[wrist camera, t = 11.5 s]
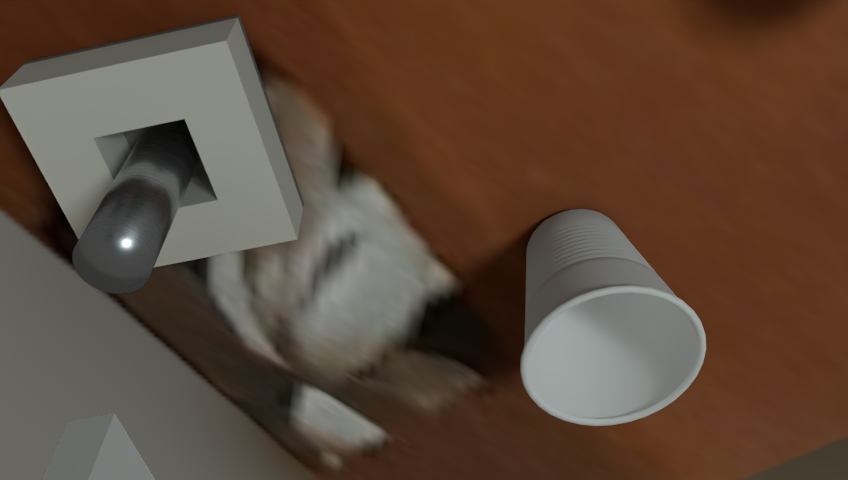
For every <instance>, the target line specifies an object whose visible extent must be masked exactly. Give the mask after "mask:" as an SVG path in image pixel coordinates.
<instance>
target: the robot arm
mask: <svg viewBox="0 0 848 480" xmlns="http://www.w3.org/2000/svg"><path fill="white" fill-rule="evenodd" d="M42 480H155V479H154V477H153V476H152V474H151V472H150V471H149V469H148V467H147V466H146V464H145V462H144V461H143V459H142V458H141V456H140V454H139V453H138V451H137V449H136V448H135V446H134V444H133V443H132V441H131V439H130V438H129V437H128V435H127V433H126V431H125V430H124V428H123V426H122V425H121V423H120V421H119V420H118V418H117V417H116V415H115V413H112V414H107V415H101V416H95V417H91V418H84V419H79V420H73V421H69V422H68V424H67V426H66V428H65V430H64V433H63V435H62V437H61V439H60V441H59V444H58V446H57V448H56V450H55V452H54V455H53V457H52V459H51V461H50V463H49V466H48V468H47V470H46V472H45V474H44V477H43V479H42Z"/></svg>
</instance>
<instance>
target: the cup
mask: <svg viewBox="0 0 848 480" xmlns="http://www.w3.org/2000/svg"><path fill="white" fill-rule="evenodd" d="M525 304H526V307H525V345H524V348H523V352H522V355H521V362H520V373H521V377H522V382H523V385H524V387H525V389H526V391H527V392H528V394H529V396H530V397H531V398H532V399H533V401H534V402H535V403H536V404H537V405H538V406H539V407H540V408H542V409H543V410H545V411H546V412H548V413H549V414H550V415H553V416H555V417H557V418H560V419H562V420H564V421H568V422H572V423H576V424H581V425H592V426H602V425H615V424H620V423H626V422H630V421H633V420H637V419H640V418H643V417H646V416H648V415H650V414H652V413H654V412H656V411H658V410H660V409H662V408H664V407H665V406H667V405H668V404H670V403H671V402H673V401H674V400H675V399H677V398H678V397H679V396H680V395H681V394H682V393H683V392H684V391H685V390H686V389H687V388H688V387H689V386H690V384H691V383H692V382H693V380H694V379H695V378H696V376H697V374H698V372H699V370H700V368H701V366H702V364H703V361H704V356H705V352H706V335H705V332H704V329H703V326H702V323H701V321H700V319H699V318H698V316H697V315H696V313H695V312H694V310H693V309H692V308H690V307H689V306H688V305H687V304H686V303H685V302H684V301H682V300H681V299H679V298H677V297H676V295H675V294H674V293H673V292H672V291H671V290H670V288H669V287H668V286H667V285H666V284H665V282H664V281H663V280H662V279H661V278H660V277H659V276H658V275H657V273H656V272H655V271H654V270H653V268H652V267H651V266H650V265H649V264H648V263H647V262H646V260H645V259H644V258H643V257H642V255H640V253H639V252H638V251H637V250H636V248H635V247H634V246H633V245H632V244H631V243H630V241H629V240H628V239H627V238H626V236H625V235H624V234H623V233H622V231H621V230H620V229H619V228H618V227H617V225H616V224H615V223H614V222H613V221H612V220H611V219H609V218H608V217H607V216H605V215H603V214H601V213H599V212H596V211H593V210H586V209H573V210H568V211H563V212H561V213H558V214H556V215H553V216H552V217H550V218H548V219H547V220H545V221H544V222H543V223H542V224H541V225H539V226H538V228H537V229H536V230H535V231H534V232H533V234H532V236H531V238H530V240H529V242H528V246H527V253H526V303H525Z"/></svg>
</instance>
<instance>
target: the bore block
mask: <svg viewBox="0 0 848 480" xmlns="http://www.w3.org/2000/svg"><path fill="white" fill-rule="evenodd" d="M0 97H1V99H2V101H3V103H4V105H5V106H6V108H7V110H8V112H9V114H10V116H11V117H12V119H13V121H14V123H15V125H16V126H17V128H18V130H19V132H20V134H21V136H22V137H23V139H24V141H25V143H26V145H27V146H28V148H29V150H30V152H31V154H32V156H33V157H34V159H35V161H36V163H37V165H38V166H39V168H40V170H41V172H42V174H43V176H44V177H45V179H46V181H47V183H48V185H49V187H50V188H51V190H52V192H53V194H54V196H55V197H56V199H57V201H58V203H59V205H60V207H61V208H62V210H63V212H64V214H65V216H66V217H67V219H68V221H69V223H70V225H71V227H72V228H73V230H74V232H75V234H76V236H77V238H78V239H80V237H81V235H82V234H83V232H84V230H85V229H86V227H87V225H88V224H89V222H90V220H91V218H92V217H93V215H94V213H95V212H96V210H97V208H98V207H99V205H100V203H101V202H102V200H103V198H104V196H105V195H106V193H107V191H108V190H109V188H110V186H111V185H112V183H113V181H114V180H115V178H116V176H117V174H118V173H119V171H120V169H121V168H122V166H123V164H124V163H125V161H126V159H127V158H128V156H129V154H130V152H131V151H132V149H133V147H134V146H135V144H136V142H137V141H138V139H139V137H140V135H141V134H142V132H143V130H144V129H145V127H149V126H153V125H158V124H163V123H168V122H172V121H177V120H182V119H185V122H186V124H187V126H188V129H189V131H190V134H191V136H192V138H193V141H194V143H195V146H196V148H197V151H198V153H199V155H200V159H199V161H198V164H197V166H196V169H195V171H194V173H193V176H192V178H191V180H190V183H189V185H188V187H187V190H186V192H185V194H184V197H183V199H182V202H181V204H180V206H179V209H178V211H177V213H176V216H175V218H174V220H173V223H172V225H171V227H170V230H169V232H168V234H167V237H166V239H165V242H164V244H163V246H162V249H161V251H160V253H159V256H158V258H157V260H156V263H155V265H154V267H159V266H164V265H169V264H174V263H179V262H184V261H189V260H194V259H200V258H205V257H210V256H215V255H220V254H225V253H230V252H236V251H241V250H246V249H251V248H256V247H261V246H266V245H271V244H277V243H282V242H287V241H292V240H297V239H298V234H299V228H300V222H301V216H302V211H303V205H304V203H303V200H302V197H301V194H300V191H299V188H298V185H297V182H296V179H295V176H294V173H293V171H292V168H291V165H290V162H289V159H288V156H287V153H286V150H285V147H284V144H283V141H282V138H281V135H280V133H279V130H278V127H277V124H276V121H275V118H274V115H273V112H272V109H271V106H270V103H269V100H268V97H267V94H266V92H265V89H264V86H263V83H262V80H261V77H260V74H259V71H258V68H257V65H256V62H255V59H254V56H253V54H252V51H251V48H250V45H249V42H248V39H247V36H246V33H245V30H244V27H243V24H242V21H241V18H240V16H239V15H235V16H231V17H226V18H222V19H217V20H213V21H208V22H204V23H199V24H195V25H190V26H185V27H181V28H176V29H172V30H167V31H163V32H158V33H154V34H149V35H145V36H140V37H135V38H131V39H126V40H122V41H117V42H113V43H108V44H104V45H99V46H95V47H90V48H85V49H81V50H76V51H72V52H67V53H63V54H58V55H54V56H49V57H45V58H40V59H36V60H31V61H27V62H26V63H25V64H24V65H23V66H22V67H21V68H20V69H19V70H18V71H17V72H16V73H15V74H13V75H12V76H11V77H10V78H9V79H8V80H7V81H6V82H5V83H4V84H3V85H2V86H1V87H0Z"/></svg>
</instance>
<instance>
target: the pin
mask: <svg viewBox="0 0 848 480" xmlns="http://www.w3.org/2000/svg"><path fill="white" fill-rule="evenodd" d="M199 159H200V155H199V153H198V151H197V148H196V146H195V143H194V141H193V138H192V136H191V134H190V131H189V129H188V126H187V124H186V122H185V119H182V120H177V121H172V122H168V123H163V124H158V125H153V126H149V127H145V129H144V130H143V132H142V134H141V135H140V137H139V139H138V141H137V142H136V144H135V146H134V147H133V149H132V151H131V152H130V154H129V156H128V158H127V159H126V161H125V163H124V164H123V166H122V168H121V169H120V171H119V173H118V174H117V176H116V178H115V180H114V181H113V183H112V185H111V186H110V188H109V190H108V191H107V193H106V195H105V196H104V198H103V200H102V202H101V203H100V205H99V207H98V208H97V210H96V212H95V213H94V215H93V217H92V218H91V220H90V222H89V224H88V225H87V227H86V229H85V230H84V232H83V234H82V235H81V237H80V239H79V241H78V242H77V244H76V246H75V248H74V250H73V257H72V259H73V264H74V267H75V269H76V271H77V272H78V274H79V275H80V276H81V278H82V279H83V280H84V281H86V282H87V283H88V284H90V285H91V286H93V287H95V288H97V289H99V290H102V291H105V292H109V293H116V294H122V293H129V292H133V291H135V290H137V289H139V288H141V287H142V286H143V285H144V284H145V283H146V282H147V281H148V279H149V277H150V275H151V272H152V270H153V267H154V265H155V263H156V260H157V258H158V256H159V253H160V251H161V249H162V246H163V244H164V242H165V239H166V237H167V234H168V232H169V230H170V227H171V225H172V223H173V220H174V218H175V216H176V213H177V211H178V209H179V206H180V204H181V202H182V199H183V197H184V194H185V192H186V190H187V187H188V185H189V183H190V180H191V178H192V176H193V173H194V171H195V169H196V166H197V164H198V161H199Z"/></svg>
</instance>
